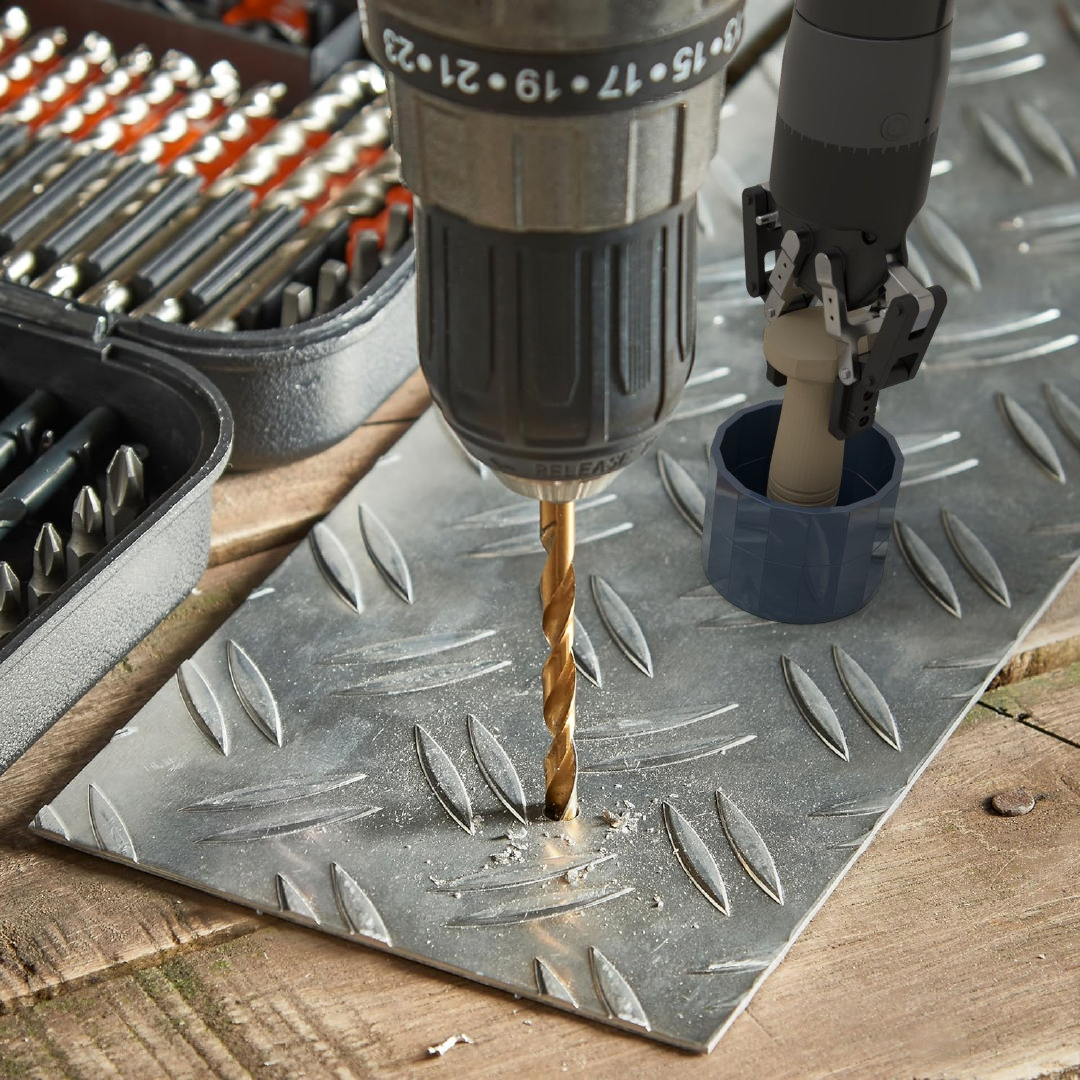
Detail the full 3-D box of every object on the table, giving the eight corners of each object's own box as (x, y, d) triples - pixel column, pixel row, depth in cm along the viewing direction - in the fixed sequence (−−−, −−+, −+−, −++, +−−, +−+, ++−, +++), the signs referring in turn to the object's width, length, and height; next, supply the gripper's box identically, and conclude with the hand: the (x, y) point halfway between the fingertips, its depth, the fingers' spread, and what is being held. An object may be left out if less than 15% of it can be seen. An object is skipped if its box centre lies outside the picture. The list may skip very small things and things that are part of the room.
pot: (721, 493, 94) (732, 385, 89) (891, 524, 92) (913, 416, 87) (684, 603, 87) (694, 492, 82) (869, 640, 84) (891, 528, 79)
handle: (724, 541, 90) (748, 321, 80) (820, 514, 91) (854, 296, 82) (765, 592, 86) (795, 369, 76) (863, 563, 88) (905, 342, 78)
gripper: (1027, 150, 68) (958, 457, 79) (831, 36, 77) (794, 325, 88) (892, 187, 65) (840, 501, 76) (706, 65, 75) (684, 359, 86)
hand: (815, 404), depth 82 cm, fingers closed on handle, 5 cm apart
